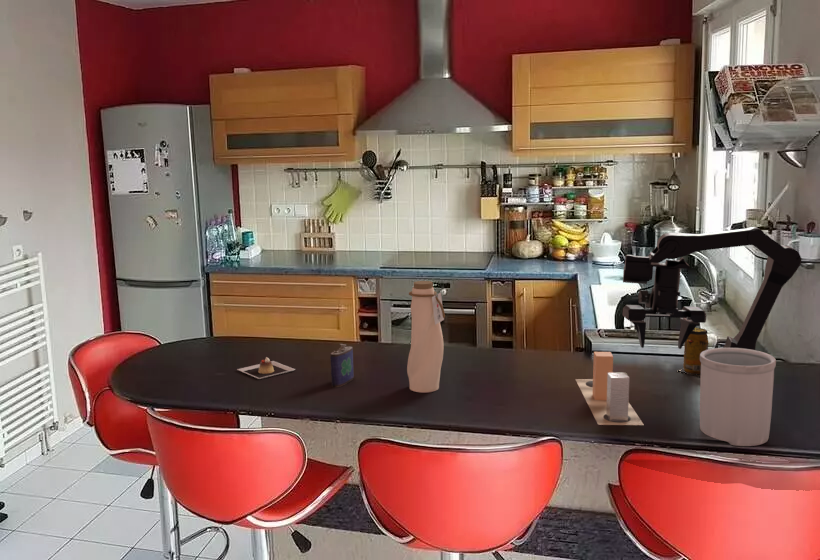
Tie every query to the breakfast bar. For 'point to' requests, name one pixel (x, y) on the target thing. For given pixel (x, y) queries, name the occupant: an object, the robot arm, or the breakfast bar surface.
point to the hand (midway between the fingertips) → (660, 347)
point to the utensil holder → (736, 395)
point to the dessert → (267, 368)
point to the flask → (342, 366)
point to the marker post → (601, 374)
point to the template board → (604, 406)
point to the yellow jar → (694, 351)
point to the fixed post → (617, 396)
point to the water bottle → (425, 338)
